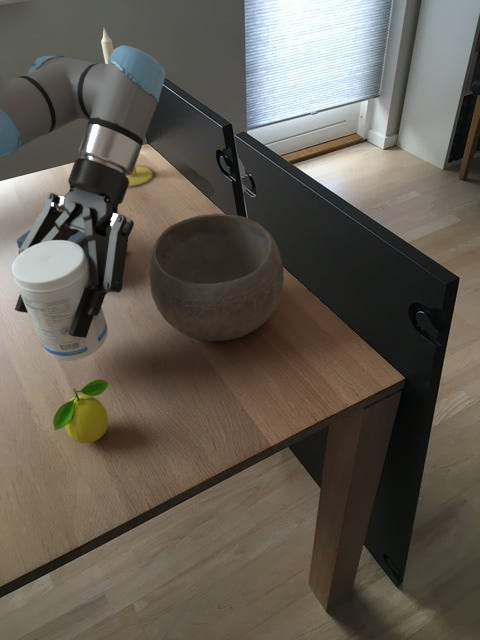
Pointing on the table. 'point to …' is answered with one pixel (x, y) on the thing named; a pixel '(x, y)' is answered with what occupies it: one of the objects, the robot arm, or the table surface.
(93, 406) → the lemon
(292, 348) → the table surface
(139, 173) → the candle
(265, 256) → the bowl
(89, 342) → the supplement tub
